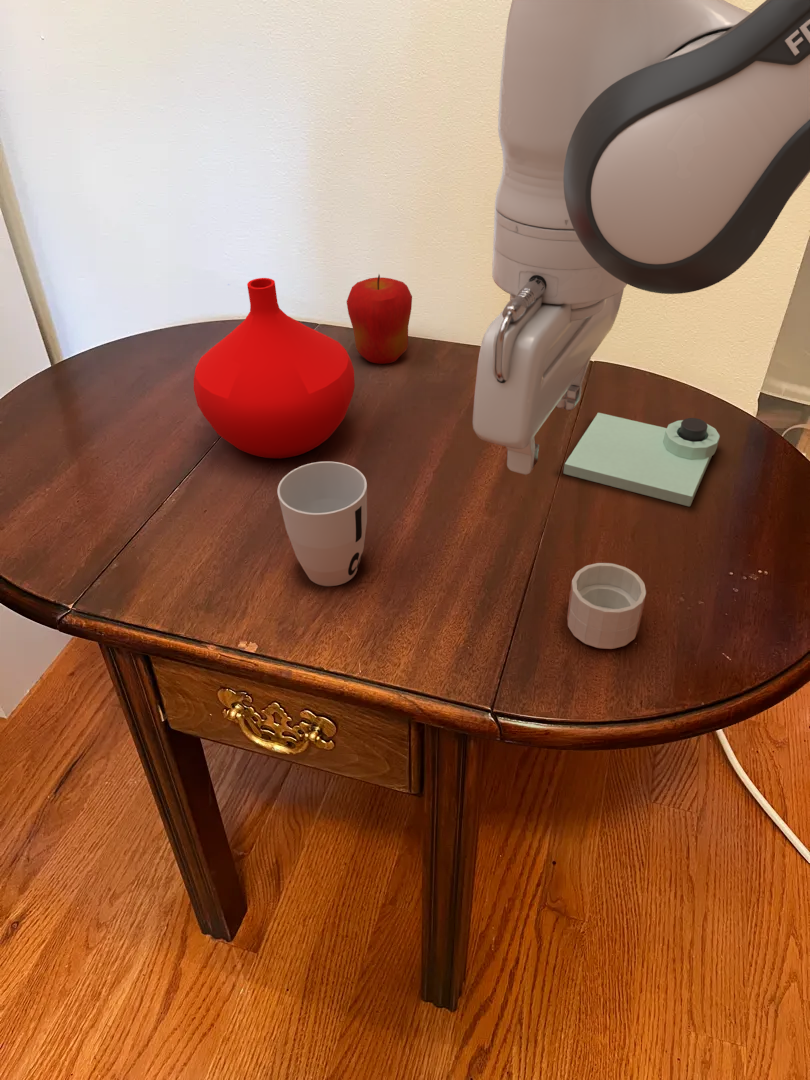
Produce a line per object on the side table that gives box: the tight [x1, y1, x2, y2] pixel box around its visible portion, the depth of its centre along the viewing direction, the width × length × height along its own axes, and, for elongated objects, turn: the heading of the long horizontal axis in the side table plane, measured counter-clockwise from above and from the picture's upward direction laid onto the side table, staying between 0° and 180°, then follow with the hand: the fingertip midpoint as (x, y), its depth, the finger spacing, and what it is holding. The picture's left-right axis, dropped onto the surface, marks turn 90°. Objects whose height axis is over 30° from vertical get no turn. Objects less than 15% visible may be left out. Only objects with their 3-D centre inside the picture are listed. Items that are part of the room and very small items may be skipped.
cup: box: [276, 461, 368, 587], centre depth 79 cm, size 8×8×10 cm
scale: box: [563, 412, 721, 508], centre depth 94 cm, size 14×12×3 cm
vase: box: [193, 277, 356, 459], centre depth 95 cm, size 18×18×19 cm
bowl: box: [566, 562, 647, 650], centre depth 74 cm, size 6×6×5 cm
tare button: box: [679, 417, 708, 442], centre depth 93 cm, size 3×3×2 cm
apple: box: [346, 274, 413, 365], centre depth 112 cm, size 9×8×12 cm
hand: (545, 434), depth 62 cm, fingers open, 8 cm apart
